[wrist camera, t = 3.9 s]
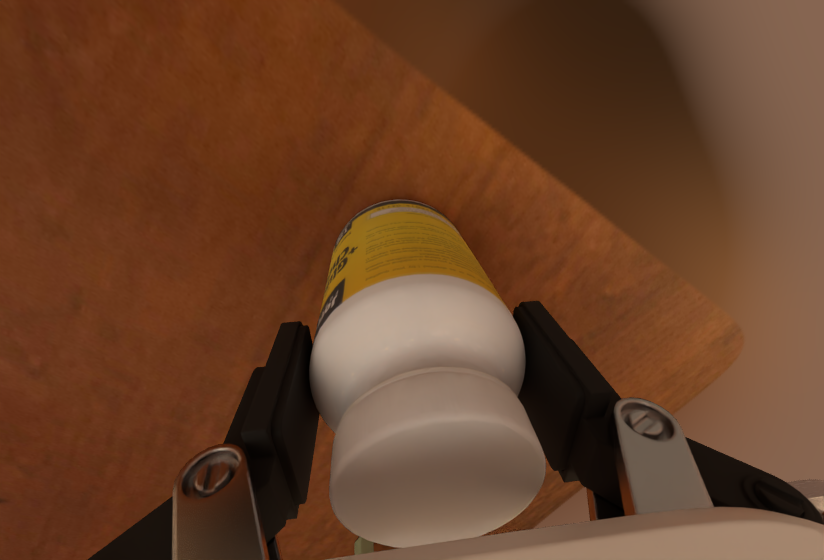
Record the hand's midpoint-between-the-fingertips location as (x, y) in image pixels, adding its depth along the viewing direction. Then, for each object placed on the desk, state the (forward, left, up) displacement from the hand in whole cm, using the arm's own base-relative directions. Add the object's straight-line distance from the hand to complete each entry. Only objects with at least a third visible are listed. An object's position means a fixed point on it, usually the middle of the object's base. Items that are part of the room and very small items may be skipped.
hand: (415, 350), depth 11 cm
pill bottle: (0, 0, -7) cm, 7 cm away
